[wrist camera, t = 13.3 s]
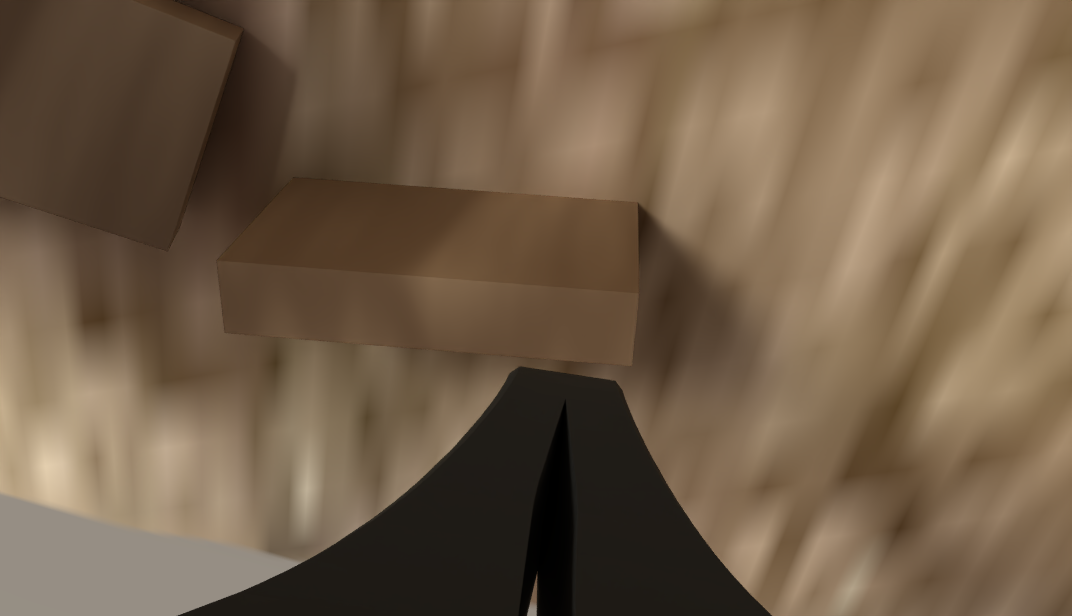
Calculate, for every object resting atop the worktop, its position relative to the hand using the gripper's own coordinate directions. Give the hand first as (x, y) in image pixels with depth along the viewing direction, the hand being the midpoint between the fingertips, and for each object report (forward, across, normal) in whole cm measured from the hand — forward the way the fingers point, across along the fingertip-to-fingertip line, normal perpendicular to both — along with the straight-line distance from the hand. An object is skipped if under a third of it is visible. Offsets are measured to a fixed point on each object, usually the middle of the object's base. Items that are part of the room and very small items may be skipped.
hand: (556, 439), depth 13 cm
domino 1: (+8, +8, 0) cm, 11 cm away
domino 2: (+7, -1, +1) cm, 7 cm away
